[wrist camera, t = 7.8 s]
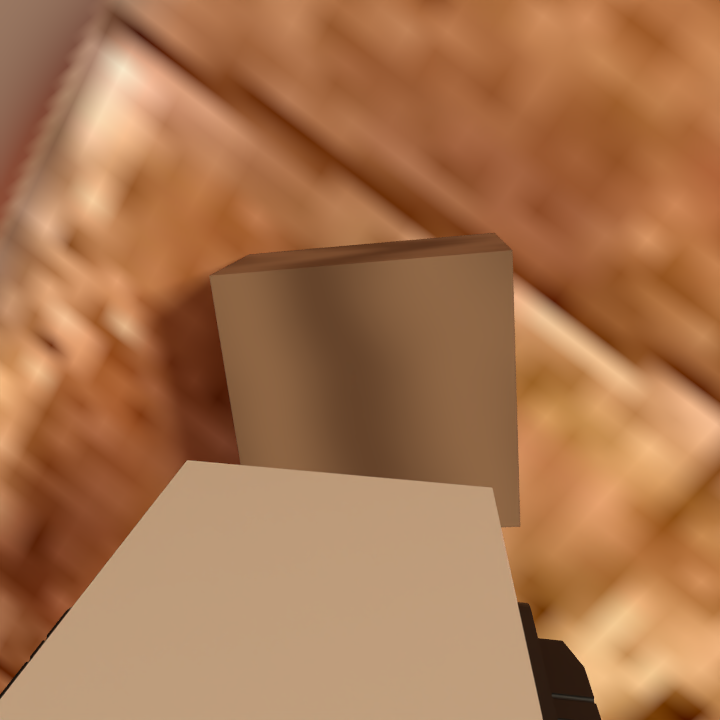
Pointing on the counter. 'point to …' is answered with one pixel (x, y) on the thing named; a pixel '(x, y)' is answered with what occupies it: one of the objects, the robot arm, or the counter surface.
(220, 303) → the walnut block
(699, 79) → the counter surface
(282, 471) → the cream block
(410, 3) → the counter surface
